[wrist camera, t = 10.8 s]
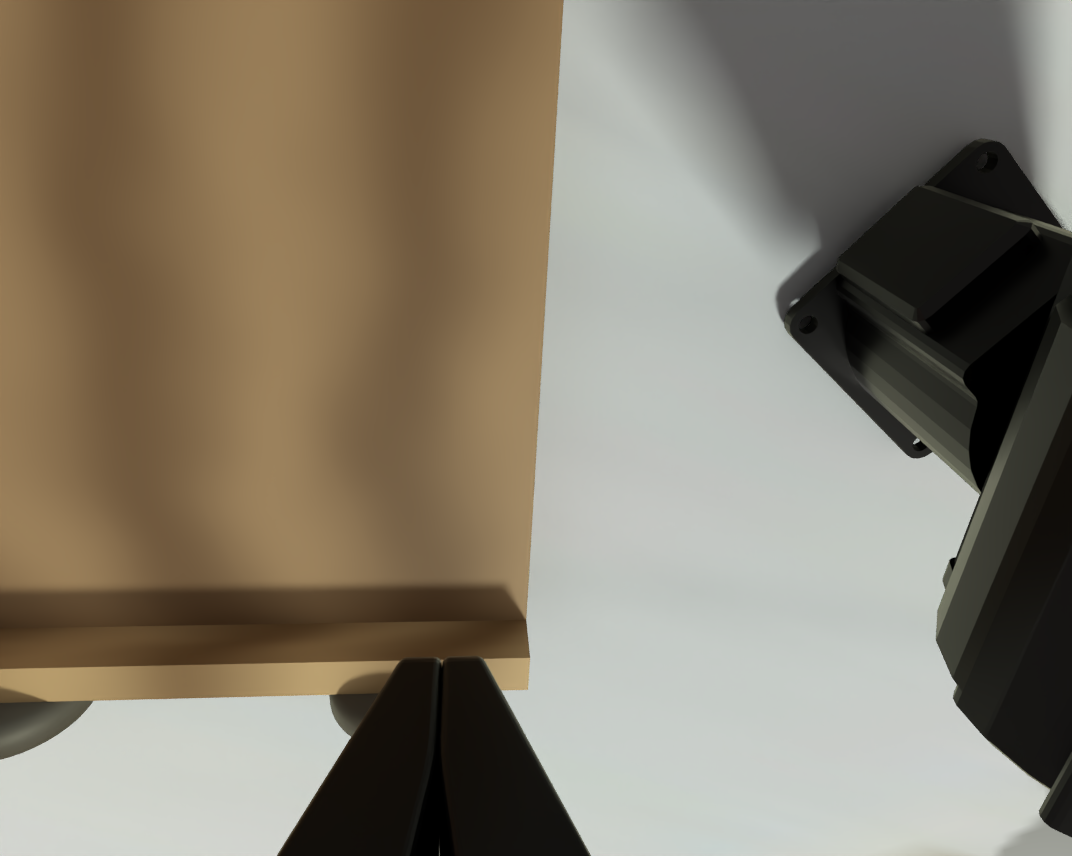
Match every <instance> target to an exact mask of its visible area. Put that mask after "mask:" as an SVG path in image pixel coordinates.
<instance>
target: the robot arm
mask: <svg viewBox="0 0 1072 856" xmlns="http://www.w3.org/2000/svg"><path fill="white" fill-rule="evenodd" d="M986 152H987V155H988V159H987V163H986V164H985V165H984V167H983V168H981V169H980V170H978V169H977V162H978V160H979V158H980V157H981V156H982V155H983V154H985V153H986ZM806 316H812V320H811V323H810V324H809V325H808V326H807V327H805V328H802V329H799V323H800V321H801V320H802V319H803V318H805V317H806ZM784 325H785V329H786V331H787V332H788V334H789V335H790V336H791V337H792V338H793V339H794V340H795V341H796V342H797V343H798V344H799V345H800V346H801V347H802V348H803V349H804V350H805V351H806V352H807V353H808V354H809V355H810V356H811V357H812V358H813V359H814V360H815V361H816V362H817V363H818V364H819V365H820V366H821V367H822V369H823V370H824V371H825V372H826V373H827V374H828V375H829V376H830V377H831V378H832V379H833V380H834V381H835V382H836V383H837V384H838V385H839V386H840V387H841V388H842V389H843V390H844V391H845V392H846V393H847V394H848V395H849V396H850V397H851V398H852V399H853V400H854V401H855V402H856V403H857V404H858V405H859V407H860V408H861V409H862V410H863V411H864V412H865V413H866V414H867V415H868V416H869V417H870V418H871V419H872V420H873V421H874V422H875V423H876V424H877V425H878V426H879V427H880V428H881V429H882V430H883V431H884V432H885V433H886V434H887V435H888V436H889V437H890V438H891V439H892V440H893V441H894V442H895V443H896V445H897V446H898V447H899V448H900V449H901V450H902V451H903V452H905V453H906V454H907V455H908V456H910V457H911V458H922V457H925V456H927V455H928V454H930V453H931V452H934V453H935V454H936V455H937V456H938V457H939V458H940V459H941V460H942V461H944V462H945V463H946V464H947V465H948V466H949V467H950V468H951V469H952V470H953V471H954V472H956V473H957V474H958V475H959V476H960V477H961V478H962V479H963V480H964V481H965V482H967V483H968V484H969V485H970V486H971V487H972V488H973V489H974V490H975V491H976V492H978V493H979V494H980V496H979V499H978V501H977V504H976V507H975V509H974V512H973V514H972V517H971V520H970V522H969V525H968V527H967V530H966V533H965V535H964V538H963V540H962V543H961V546H960V548H959V551H958V553H957V556H956V558H952V559H950V560H949V563H948V566H947V568H946V571H945V574H944V576H943V584H944V587H945V592H944V595H943V598H942V600H941V603H940V605H939V608H938V612H937V629H936V642H937V644H938V646H939V648H940V651H941V653H942V655H943V658H944V660H945V662H946V664H947V667H948V669H949V671H950V674H951V676H952V678H953V680H954V681H955V682H956V684H957V686H956V689H955V691H954V695H953V699H954V701H955V703H956V705H957V706H958V708H959V709H960V710H961V711H962V712H963V713H964V714H965V716H966V717H967V718H968V719H969V720H970V721H971V722H972V724H973V725H974V726H975V727H976V728H977V729H978V730H979V732H980V733H981V734H982V735H983V736H984V737H985V738H986V739H987V740H988V741H989V742H990V743H991V744H992V745H993V746H994V747H995V748H996V749H998V750H999V751H1000V752H1001V753H1002V754H1004V755H1005V756H1006V757H1007V758H1008V759H1009V760H1011V761H1012V762H1013V763H1014V764H1015V765H1017V766H1018V767H1019V768H1020V769H1021V770H1022V771H1024V772H1025V773H1026V774H1027V775H1028V776H1030V777H1031V778H1033V779H1035V780H1036V781H1038V782H1039V783H1041V784H1042V785H1044V786H1045V787H1047V788H1048V789H1050V792H1049V794H1048V795H1047V797H1046V799H1045V801H1044V803H1043V804H1042V806H1041V808H1040V810H1039V814H1040V817H1041V818H1042V820H1043V821H1044V822H1045V823H1046V824H1047V825H1048V826H1050V827H1051V828H1053V829H1055V830H1057V831H1059V832H1062V833H1063V834H1066V835H1068V836H1070V837H1072V232H1071V231H1068V230H1065V229H1062V227H1061V226H1060V224H1059V223H1058V221H1057V220H1056V219H1055V217H1054V216H1053V214H1052V213H1051V211H1050V210H1049V209H1048V207H1047V206H1046V204H1045V203H1044V201H1043V200H1042V199H1041V197H1040V196H1039V194H1038V193H1037V191H1036V190H1035V189H1034V187H1033V186H1032V184H1031V183H1030V181H1029V180H1028V178H1027V177H1026V176H1025V174H1024V173H1023V171H1022V170H1021V168H1020V167H1019V166H1018V164H1017V163H1016V161H1015V160H1014V158H1013V157H1012V156H1011V154H1010V153H1009V151H1008V150H1007V148H1006V147H1005V146H1004V145H1003V144H1002V143H1000V142H997V141H993V140H988V139H979V140H975V141H973V142H972V143H970V144H969V145H967V146H966V147H965V148H964V149H963V150H962V151H961V152H960V153H958V154H957V155H956V156H955V157H954V158H953V159H952V160H951V161H950V162H949V163H948V164H947V165H945V166H944V167H943V168H942V169H941V170H940V171H939V172H938V173H937V174H936V175H935V176H934V177H932V178H931V179H930V180H929V181H928V182H927V183H926V184H925V185H924V186H917V187H915V188H914V189H912V190H911V191H910V192H909V193H908V194H907V195H906V196H905V197H904V198H903V199H902V200H901V201H899V202H898V203H897V204H896V205H895V206H894V207H893V208H892V209H891V210H890V211H889V212H888V213H886V214H885V215H884V216H883V217H882V218H881V219H880V220H879V221H878V222H877V223H876V224H875V225H874V226H872V227H871V228H870V229H869V230H868V231H867V232H866V233H865V234H864V235H863V236H862V237H861V238H859V239H858V240H857V241H856V242H855V243H854V244H853V245H852V246H851V247H850V248H849V249H848V250H847V251H845V252H844V253H843V254H842V255H841V256H840V257H839V259H838V263H837V266H836V267H835V268H834V269H833V270H832V271H831V272H829V273H828V274H827V275H826V276H825V277H824V278H823V279H822V280H821V281H820V282H819V283H818V284H816V285H815V286H814V287H813V288H812V289H811V290H810V291H809V292H808V293H807V294H806V295H805V296H803V297H802V298H801V299H800V300H799V301H798V302H797V303H796V304H795V305H794V306H793V307H792V308H791V309H790V310H789V311H788V313H787V314H786V317H785V320H784ZM916 438H918V439H919V440H920V441H919V442H918V443H916V444H913V442H914V441H915V440H916ZM439 853H440V856H591V855H590V853H589V851H588V849H587V848H586V846H585V844H584V842H583V840H582V838H581V837H580V835H579V833H578V831H577V829H576V827H575V826H574V824H573V822H572V820H571V818H570V816H569V814H568V813H567V811H566V809H565V807H564V805H563V803H562V802H561V800H560V798H559V796H558V794H557V792H556V791H555V789H554V787H553V785H552V783H551V781H550V780H549V778H548V776H547V774H546V772H545V770H544V768H543V767H542V765H541V763H540V761H539V759H538V757H537V756H536V754H535V752H534V750H533V748H532V746H531V745H530V743H529V741H528V739H527V737H526V735H525V734H524V732H523V730H522V728H521V726H520V724H519V722H518V721H517V719H516V717H515V715H514V713H513V711H512V710H511V708H510V706H509V704H508V702H507V700H506V699H505V697H504V695H503V693H502V691H501V689H500V688H499V686H498V684H497V682H496V680H495V678H494V676H493V675H492V673H491V671H490V669H489V667H488V665H487V664H486V662H485V661H484V659H483V658H482V657H480V656H448V657H446V658H445V659H444V660H443V663H441V660H440V659H439V658H438V657H406V658H403V659H402V660H400V661H399V663H398V664H397V665H396V667H395V669H394V670H393V672H392V673H391V675H390V677H389V678H388V680H387V681H386V683H385V684H384V686H383V688H382V689H381V691H380V692H379V694H378V696H377V697H376V699H375V700H374V702H373V704H372V705H371V707H370V708H369V710H368V712H367V713H366V715H365V716H364V718H363V719H362V721H361V723H360V724H359V726H358V727H357V729H356V731H355V732H354V734H353V735H352V737H351V739H350V740H349V742H348V743H347V745H346V746H345V748H344V750H343V751H342V753H341V754H340V756H339V758H338V759H337V761H336V762H335V764H334V766H333V767H332V769H331V770H330V772H329V773H328V775H327V777H326V778H325V780H324V781H323V783H322V785H321V786H320V788H319V789H318V791H317V793H316V794H315V796H314V797H313V799H312V801H311V802H310V804H309V805H308V807H307V808H306V810H305V812H304V813H303V815H302V816H301V818H300V820H299V821H298V823H297V824H296V826H295V828H294V829H293V831H292V832H291V834H290V835H289V837H288V839H287V840H286V842H285V843H284V845H283V847H282V848H281V850H280V851H279V853H278V855H277V856H439Z"/></svg>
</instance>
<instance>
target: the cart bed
mask: <svg viewBox="0 0 1072 856" xmlns="http://www.w3.org/2000/svg"><path fill="white" fill-rule="evenodd" d="M562 16H563V0H0V759H4V758H8V757H11V756H14V755H17V754H20V753H23V752H25V751H27V750H30V749H32V748H34V747H36V746H38V745H40V744H42V743H44V742H46V741H48V740H49V739H51V738H53V737H54V736H56V735H58V734H59V733H60V732H62V731H63V730H65V729H66V728H67V727H69V726H70V725H71V724H72V723H73V722H75V721H76V720H77V719H78V718H79V717H80V716H81V715H82V714H83V713H84V712H85V711H86V710H87V708H88V707H89V706H90V705H91V704H92V702H93V701H95V700H134V699H174V698H214V697H254V696H294V695H329V696H330V705H331V709H332V713H333V715H334V717H335V720H336V721H337V723H338V724H339V726H340V727H341V728H342V729H343V730H344V731H345V732H346V733H347V734H348V735H350V736H351V737H352V735H353V734H354V732H355V731H356V729H357V727H358V726H359V724H360V723H361V721H362V719H363V718H364V716H365V715H366V713H367V712H368V710H369V708H370V707H371V705H372V704H373V702H374V700H375V699H376V697H377V696H378V694H379V692H380V691H381V689H382V688H383V686H384V684H385V683H386V681H387V680H388V678H389V677H390V675H391V673H392V672H393V670H394V669H395V667H396V665H397V664H398V663H399V661H400V660H402V659H403V658H406V657H438V658H439V659H440V660H441V663H443V660H444V659H445V658H446V657H448V656H480V657H482V658H483V659H484V661H485V662H486V664H487V665H488V667H489V669H490V671H491V673H492V675H493V676H494V678H495V680H496V682H497V684H498V686H499V688H500V689H501V690H528V680H529V664H530V654H529V644H528V634H527V624H526V613H527V597H528V580H529V563H530V547H531V530H532V514H533V497H534V481H535V464H536V447H537V431H538V414H539V398H540V381H541V364H542V348H543V331H544V315H545V298H546V282H547V265H548V248H549V232H550V215H551V199H552V182H553V165H554V149H555V132H556V116H557V99H558V83H559V66H560V49H561V33H562Z"/></svg>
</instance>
